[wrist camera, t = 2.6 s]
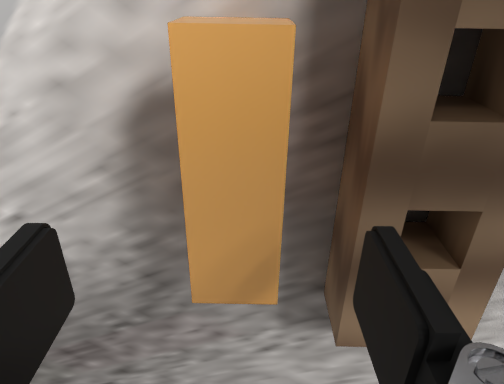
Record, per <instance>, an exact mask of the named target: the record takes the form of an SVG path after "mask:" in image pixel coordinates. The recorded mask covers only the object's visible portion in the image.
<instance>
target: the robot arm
mask: <svg viewBox="0 0 504 384" xmlns="http://www.w3.org/2000/svg"><path fill="white" fill-rule="evenodd" d="M74 301H75V296H74V292H73V288H72V285H71V281H70V278H69V274H68V271H67V267H66V264H65V260H64V257H63V253H62V250H61V246H60V242H59V239H58V235H57V232H56V230H55V229H54V228H51V227H50V226H49V224H47V223H26V224H24V225H23V226H22V227H21V228H20V229H19V230H18V231H17V232H16V233H15V234H14V235H13V236H12V237H11V238H10V239H9V240H8V241H7V242H6V243H5V244H4V245H3V246H2V247H1V248H0V384H29V383H30V382H31V380H32V378H33V376H34V375H35V373H36V371H37V369H38V368H39V366H40V364H41V362H42V361H43V359H44V357H45V355H46V354H47V352H48V350H49V348H50V347H51V345H52V343H53V341H54V339H55V338H56V336H57V334H58V332H59V331H60V329H61V327H62V325H63V324H64V322H65V320H66V318H67V317H68V315H69V313H70V311H71V310H72V308H73V305H74ZM353 307H354V311H355V314H356V316H357V319H358V322H359V325H360V328H361V331H362V334H363V337H364V340H365V343H366V346H367V349H368V352H369V355H370V358H371V361H372V364H373V367H374V370H375V373H376V375H377V378H378V381H379V384H504V349H503V348H500V347H498V346H495V345H492V344H488V343H482V342H477V343H473V342H472V341H471V339H470V338H469V336H468V335H467V333H466V331H465V330H464V328H463V327H462V325H461V324H460V322H459V321H458V319H457V318H456V316H455V315H454V313H453V311H452V310H451V308H450V307H449V305H448V304H447V302H446V301H445V299H444V298H443V296H442V295H441V293H440V291H439V290H438V288H437V287H436V285H435V284H434V282H433V281H432V279H431V278H430V276H429V275H428V274H427V272H426V271H424V270H421V268H420V267H419V265H418V264H417V262H416V261H415V259H414V257H413V256H412V254H411V253H410V251H409V250H408V248H407V246H406V245H405V243H404V242H403V240H402V239H401V237H400V235H399V234H398V232H397V231H396V229H395V228H394V227H393V226H373V227H372V229H371V231H366V233H365V237H364V243H363V248H362V253H361V258H360V263H359V268H358V274H357V279H356V284H355V289H354V294H353Z"/></svg>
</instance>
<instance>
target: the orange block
mask: <svg viewBox="0 0 504 384" xmlns="http://www.w3.org/2000/svg"><path fill="white" fill-rule="evenodd" d="M295 32H296V25H295V24H294V23H293V22H292V21H291V20H290V19H289V18H239V17H182V18H179V19H176V20H174V21H171V22H168V33H169V44H170V56H171V67H172V78H173V90H174V101H175V112H176V124H177V135H178V146H179V158H180V169H181V181H182V192H183V203H184V215H185V226H186V237H187V249H188V260H189V271H190V283H191V294H192V303H224V304H277V301H278V286H279V271H280V256H281V241H282V226H283V211H284V196H285V181H286V166H287V151H288V136H289V122H290V107H291V92H292V77H293V62H294V47H295Z"/></svg>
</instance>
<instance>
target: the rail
mask: <svg viewBox="0 0 504 384" xmlns="http://www.w3.org/2000/svg"><path fill="white" fill-rule="evenodd" d="M455 28H479V29H483V30H482V34H481V37H480V41H479V44H478V47H477V51H476V54H475V58H474V61H473V64H472V68H471V71H470V75H469V78H468V81H467V85H466V88H465V92H464V95H463V96H446V95H438V92H439V88H440V84H441V80H442V77H443V73H444V69H445V65H446V61H447V57H448V53H449V50H450V46H451V42H452V38H453V34H454V30H455ZM408 210H423V211H429V214H428V217H427V220H426V222H405V218H406V215H407V211H408ZM373 226H393V227H394V228H395V229H396V231H397V232H398V234H399V235H400V237H401V239H402V240H403V242H404V243H405V245H406V246H407V248H408V250H409V251H410V253H411V254H412V256H413V257H414V259H415V261H416V262H417V264H418V265H419V267H420V268H421V270H424V271H426V272H427V274H428V275H429V276H430V278H431V279H432V281H433V282H434V284H435V285H436V287H437V288H438V290H439V291H440V293H441V295H442V296H443V298H444V299H445V301H446V302H447V304H448V305H449V307H450V308H451V310H452V311H453V313H454V315H455V316H456V318H457V319H458V321H459V322H460V324H461V325H462V327H463V328H464V330H465V331H466V333H467V335H468V336H469V338H470V339H472V337H473V335H474V332H475V330H476V328H477V326H478V324H479V321H480V319H481V317H482V315H483V312H484V310H485V308H486V306H487V304H488V301H489V299H490V297H491V295H492V293H493V290H494V288H495V286H496V284H497V281H498V279H499V277H500V275H501V273H502V270H503V268H504V0H368V1H367V7H366V14H365V21H364V27H363V34H362V41H361V48H360V54H359V61H358V68H357V74H356V81H355V88H354V95H353V101H352V108H351V115H350V121H349V128H348V135H347V141H346V148H345V155H344V162H343V168H342V175H341V182H340V188H339V195H338V202H337V208H336V215H335V222H334V229H333V235H332V242H331V249H330V255H329V262H328V269H327V276H326V282H325V289H324V295H325V300H326V304H327V309H328V313H329V318H330V322H331V326H332V331H333V335H334V340H335V344H336V346H349V347H367V346H366V343H365V340H364V337H363V334H362V331H361V328H360V325H359V322H358V319H357V316H356V314H355V311H354V307H353V294H354V289H355V284H356V279H357V274H358V268H359V263H360V258H361V253H362V248H363V243H364V237H365V233H366V231H371V229H372V227H373Z"/></svg>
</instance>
